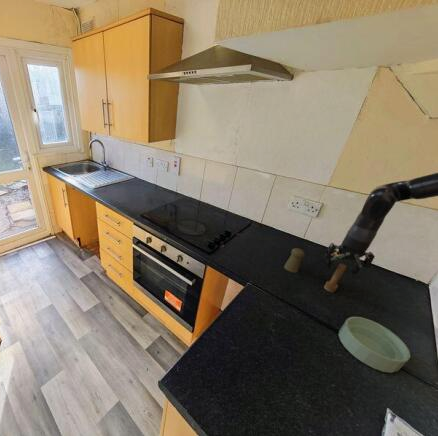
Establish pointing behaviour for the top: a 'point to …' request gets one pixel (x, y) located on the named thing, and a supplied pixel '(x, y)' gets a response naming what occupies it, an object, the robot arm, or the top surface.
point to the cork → (294, 260)
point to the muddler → (335, 278)
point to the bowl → (374, 344)
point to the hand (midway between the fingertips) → (340, 269)
